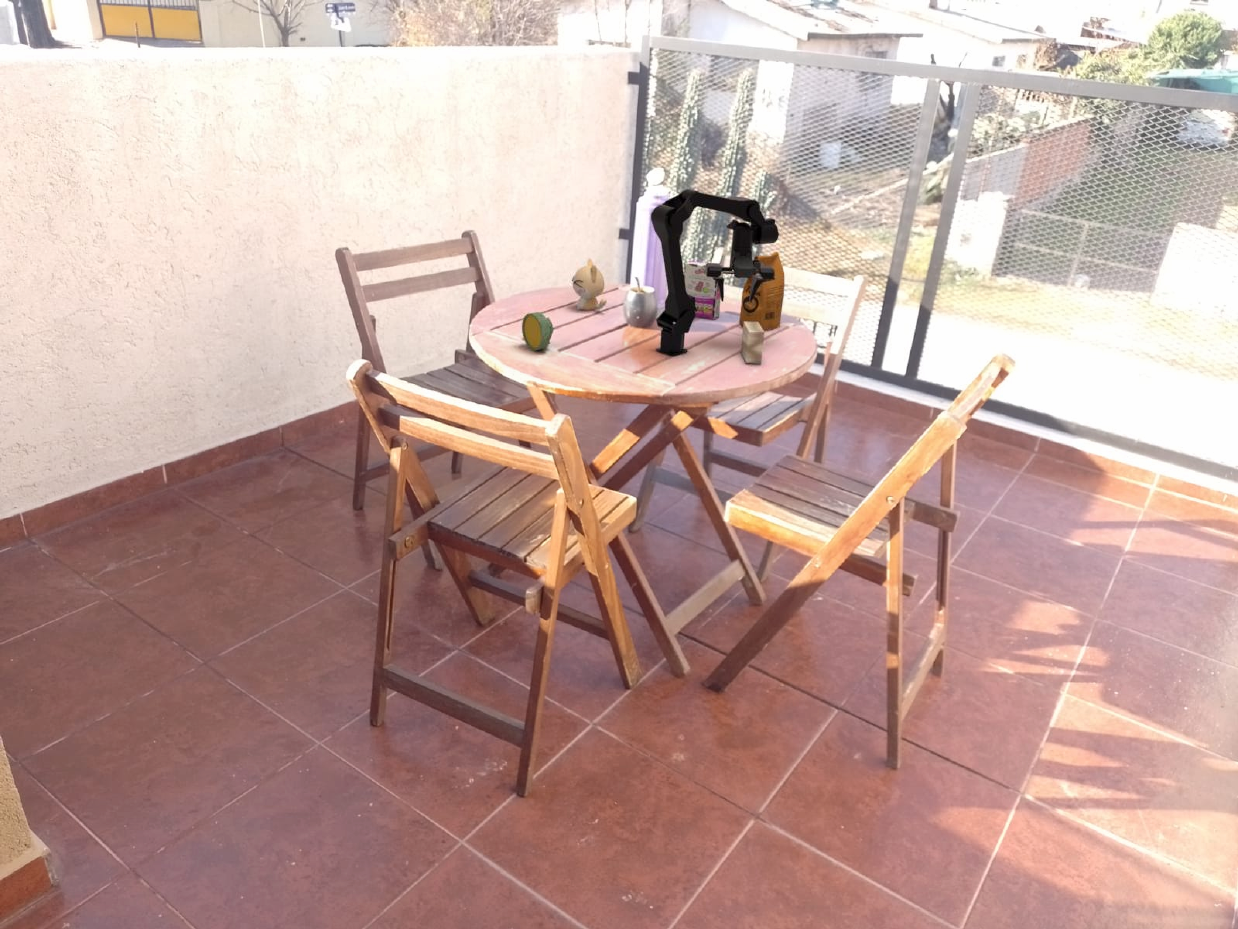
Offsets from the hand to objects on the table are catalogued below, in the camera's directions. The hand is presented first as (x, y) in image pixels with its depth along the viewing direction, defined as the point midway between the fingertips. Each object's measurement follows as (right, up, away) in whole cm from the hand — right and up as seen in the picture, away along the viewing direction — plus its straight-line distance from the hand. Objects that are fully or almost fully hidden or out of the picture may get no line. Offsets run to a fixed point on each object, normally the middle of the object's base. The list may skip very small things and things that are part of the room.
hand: (736, 301), depth 252 cm
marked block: (+3, -17, -8) cm, 19 cm away
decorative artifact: (-54, -14, -6) cm, 56 cm away
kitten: (-43, +3, +32) cm, 54 cm away
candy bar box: (-8, +1, +30) cm, 31 cm away
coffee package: (+10, -4, +21) cm, 24 cm away
